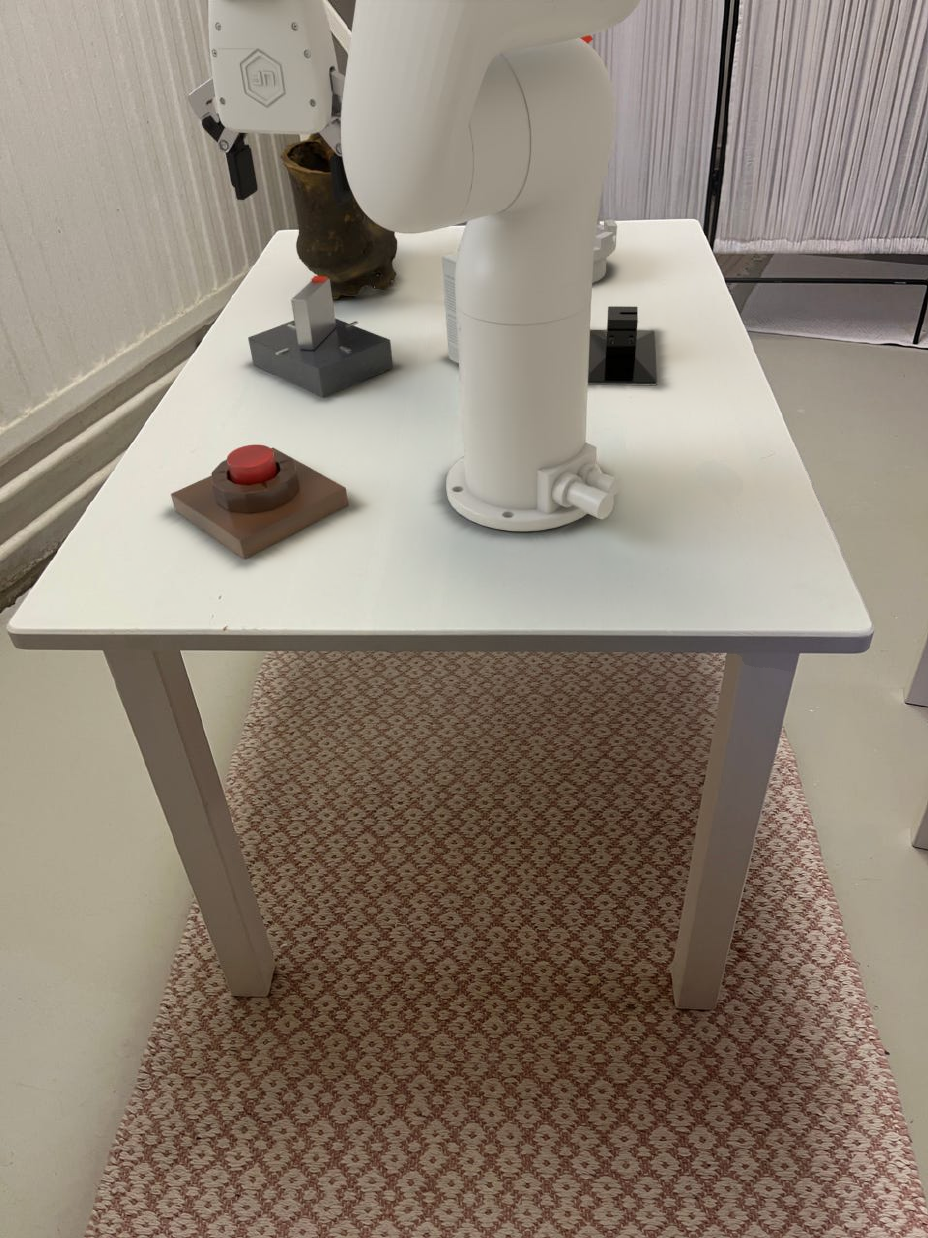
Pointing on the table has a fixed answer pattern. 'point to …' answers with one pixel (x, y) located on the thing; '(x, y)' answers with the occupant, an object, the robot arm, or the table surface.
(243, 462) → the button
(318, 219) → the pottery vessel
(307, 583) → the table surface
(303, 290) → the grey rectangular block
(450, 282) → the small box
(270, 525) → the button block
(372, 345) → the dial switch base
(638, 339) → the black stand
